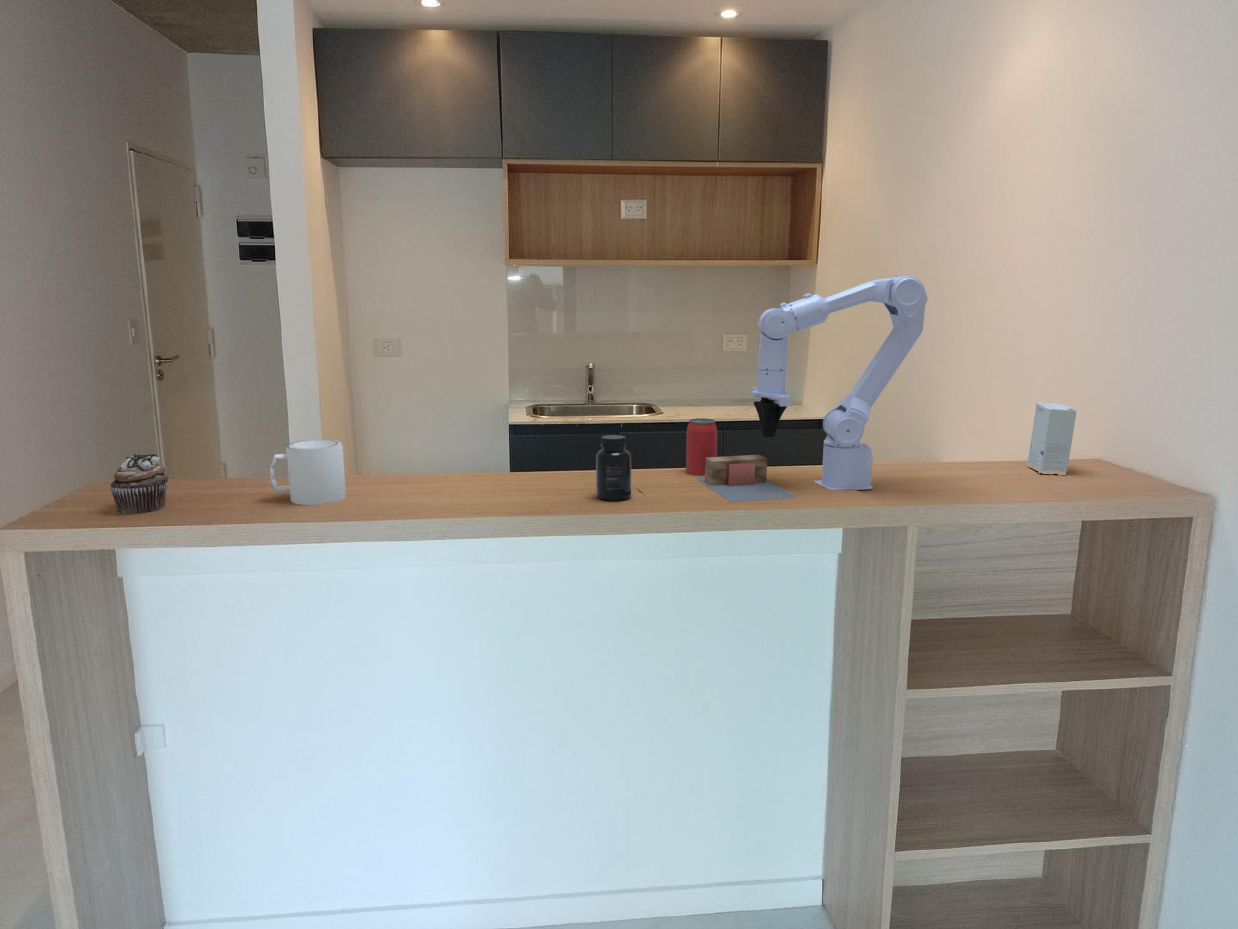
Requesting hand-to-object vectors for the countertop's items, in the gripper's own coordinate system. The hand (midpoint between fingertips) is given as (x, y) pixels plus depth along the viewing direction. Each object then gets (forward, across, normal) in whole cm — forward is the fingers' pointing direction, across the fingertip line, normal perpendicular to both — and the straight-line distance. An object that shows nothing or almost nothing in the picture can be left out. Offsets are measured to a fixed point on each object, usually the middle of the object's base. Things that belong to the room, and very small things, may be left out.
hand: (768, 436), depth 176 cm
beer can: (+11, -13, -10) cm, 19 cm away
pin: (+10, -3, -5) cm, 12 cm away
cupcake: (+13, -12, -120) cm, 121 cm away
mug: (+12, -12, -90) cm, 91 cm away
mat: (+10, +2, -6) cm, 12 cm away
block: (+10, -3, -6) cm, 12 cm away
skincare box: (+10, +2, +66) cm, 67 cm away
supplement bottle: (+11, +1, -32) cm, 34 cm away
